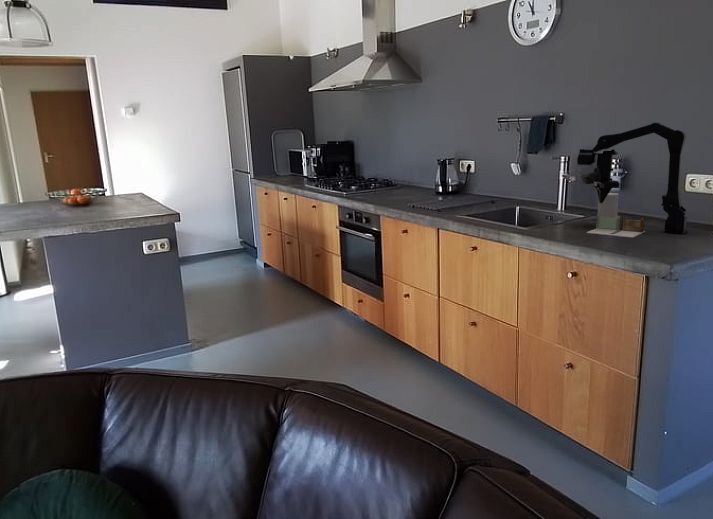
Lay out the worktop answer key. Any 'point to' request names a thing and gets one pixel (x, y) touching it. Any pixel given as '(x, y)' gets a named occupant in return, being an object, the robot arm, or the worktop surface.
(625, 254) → the worktop surface
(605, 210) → the gray block
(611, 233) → the card
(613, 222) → the fence panel
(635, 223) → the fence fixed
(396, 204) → the worktop surface
